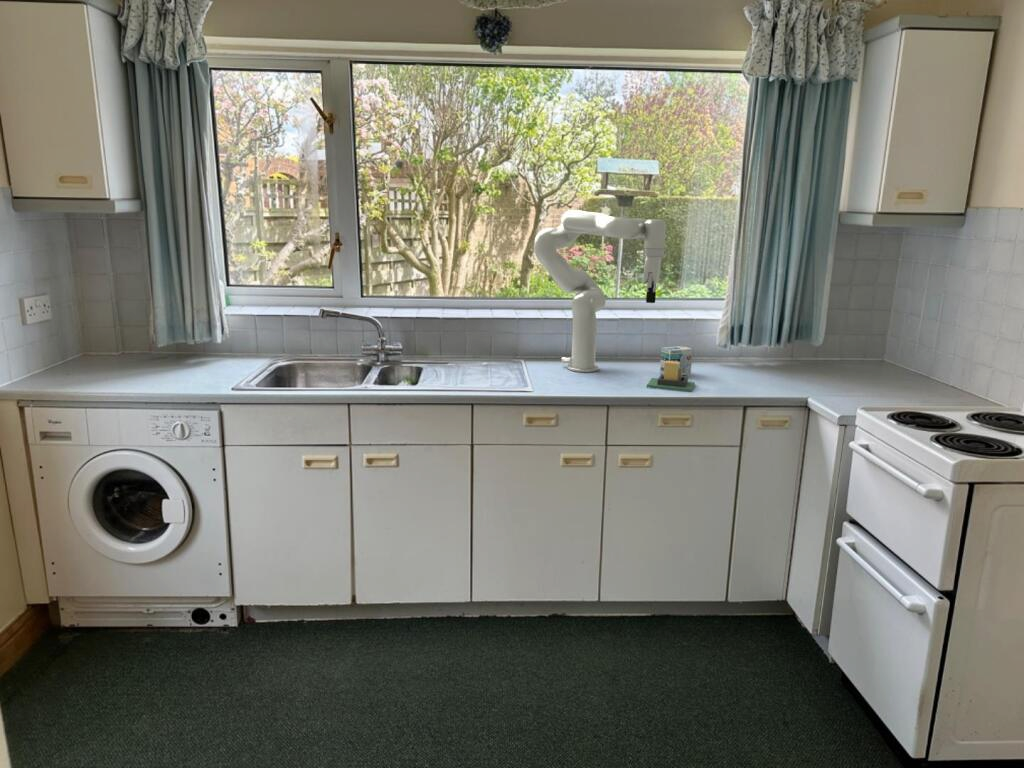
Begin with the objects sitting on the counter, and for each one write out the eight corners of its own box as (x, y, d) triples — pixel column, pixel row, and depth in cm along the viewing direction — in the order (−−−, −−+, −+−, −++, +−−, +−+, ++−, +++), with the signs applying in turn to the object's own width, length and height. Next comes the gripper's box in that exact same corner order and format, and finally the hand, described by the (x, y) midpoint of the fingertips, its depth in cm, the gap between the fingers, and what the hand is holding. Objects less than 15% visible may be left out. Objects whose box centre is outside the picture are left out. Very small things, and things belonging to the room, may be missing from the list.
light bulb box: (668, 377, 283) (670, 350, 280) (658, 373, 289) (660, 346, 286) (691, 375, 287) (693, 348, 284) (681, 371, 293) (683, 345, 290)
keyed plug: (663, 383, 268) (664, 362, 266) (664, 381, 272) (666, 360, 270) (679, 385, 266) (681, 364, 264) (681, 383, 270) (682, 362, 268)
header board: (646, 387, 266) (647, 379, 266) (651, 380, 277) (652, 372, 277) (691, 392, 261) (691, 383, 260) (694, 384, 272) (695, 376, 271)
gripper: (647, 251, 278) (643, 299, 283) (640, 254, 265) (637, 304, 269) (666, 252, 276) (663, 300, 281) (661, 255, 262) (657, 305, 267)
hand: (650, 302), depth 275 cm, fingers closed
